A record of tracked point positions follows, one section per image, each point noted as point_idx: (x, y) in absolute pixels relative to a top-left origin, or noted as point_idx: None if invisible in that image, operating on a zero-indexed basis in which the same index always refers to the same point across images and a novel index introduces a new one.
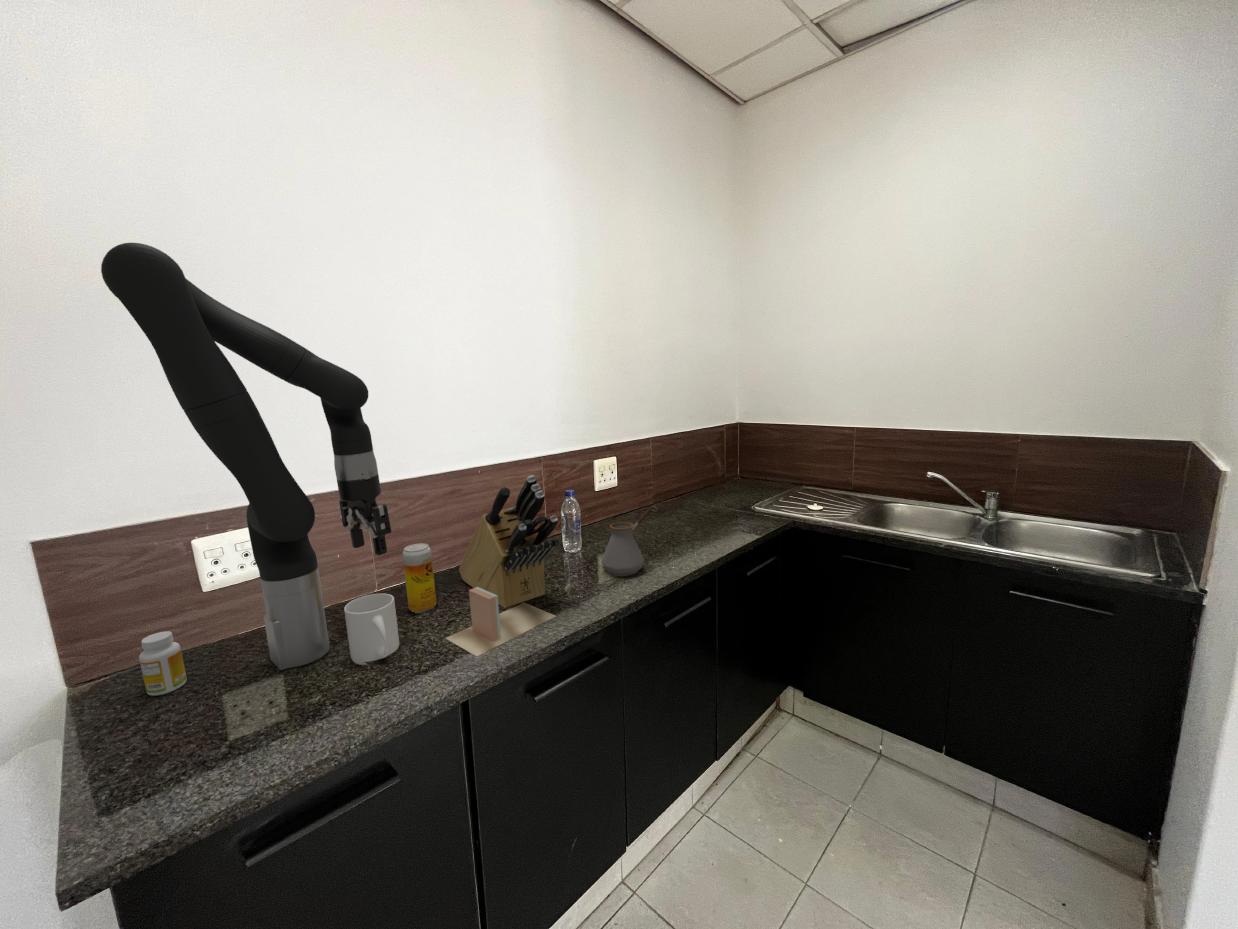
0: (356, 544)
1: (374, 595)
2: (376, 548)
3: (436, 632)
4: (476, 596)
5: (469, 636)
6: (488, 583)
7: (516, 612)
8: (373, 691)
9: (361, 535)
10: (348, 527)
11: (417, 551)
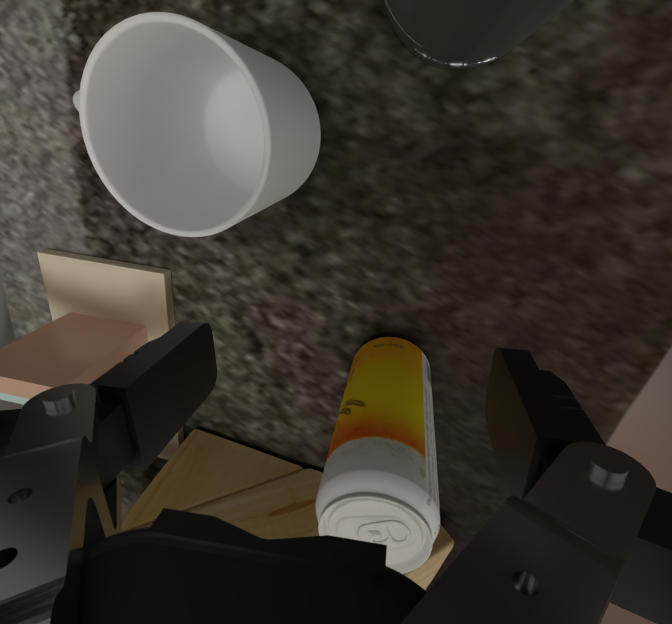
0: (500, 375)
1: (247, 202)
2: (156, 343)
3: (236, 293)
4: (32, 375)
5: (128, 305)
6: (252, 488)
7: None
8: (84, 14)
9: (502, 464)
10: (622, 482)
11: (325, 507)
